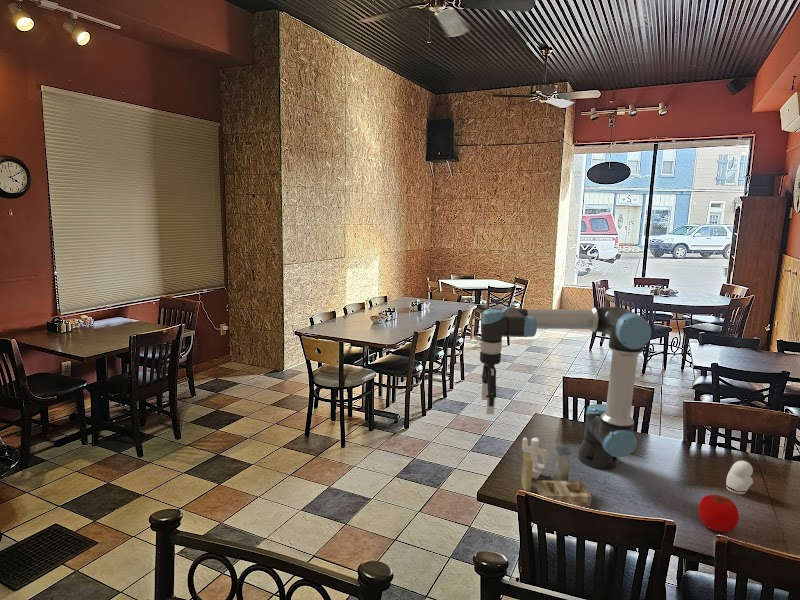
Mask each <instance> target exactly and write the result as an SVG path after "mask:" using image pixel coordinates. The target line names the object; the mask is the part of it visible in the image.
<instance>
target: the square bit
mask: <svg viewBox="0 0 800 600" xmlns="http://www.w3.org/2000/svg"><path fill="white" fill-rule="evenodd" d="M571 456H572V451H571V450H570V449H569V447H568V446H556V447H555V458H554V459H555V460H554V472H553V473H554V474H553V481H569V477H570V475H569V474H570V462H571Z"/></svg>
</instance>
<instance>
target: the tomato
mask: <svg viewBox="0 0 800 600" xmlns="http://www.w3.org/2000/svg"><path fill="white" fill-rule="evenodd" d="M697 513H698V517H699V520H700V521H701V523H702V524H703V525H704V526H705V527H706V528H708V529H711V530H713V531H716V530H717V531H716V532H719V533H726V532H731V531H733V530H734V529H735V528H736V527H737V525H738V524H739V521H740V513H739V510H738V507H737V506H736V504H735V502H734V501H733V500H731V499H730V498H728V497H725V496H723V495H719V494H708V495H704V496H703V497H702V498H701V500H699V504H698V507H697ZM720 531H721V532H720Z"/></svg>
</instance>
